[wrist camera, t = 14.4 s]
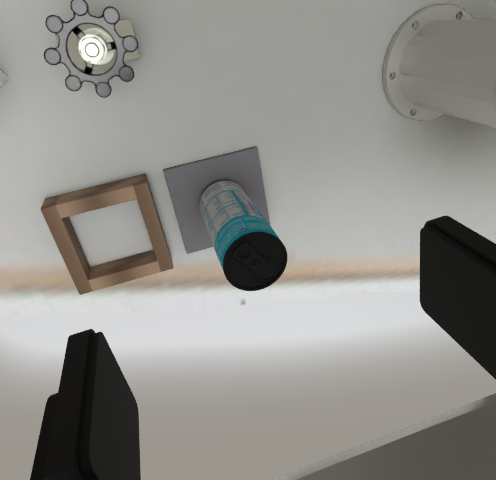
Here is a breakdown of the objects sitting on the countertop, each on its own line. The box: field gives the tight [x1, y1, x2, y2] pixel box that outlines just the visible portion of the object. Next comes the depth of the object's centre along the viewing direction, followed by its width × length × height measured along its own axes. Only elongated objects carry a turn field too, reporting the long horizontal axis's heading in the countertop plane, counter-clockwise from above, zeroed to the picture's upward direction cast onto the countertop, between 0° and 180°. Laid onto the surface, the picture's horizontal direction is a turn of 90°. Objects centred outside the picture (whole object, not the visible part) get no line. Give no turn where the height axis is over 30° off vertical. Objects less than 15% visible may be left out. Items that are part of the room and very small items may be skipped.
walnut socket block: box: [41, 174, 173, 295], centre depth 48 cm, size 11×11×3 cm
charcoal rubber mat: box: [163, 147, 270, 254], centre depth 51 cm, size 11×11×1 cm
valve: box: [44, 0, 140, 97], centre depth 35 cm, size 7×7×12 cm
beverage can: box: [199, 181, 287, 291], centre depth 44 cm, size 6×6×15 cm
